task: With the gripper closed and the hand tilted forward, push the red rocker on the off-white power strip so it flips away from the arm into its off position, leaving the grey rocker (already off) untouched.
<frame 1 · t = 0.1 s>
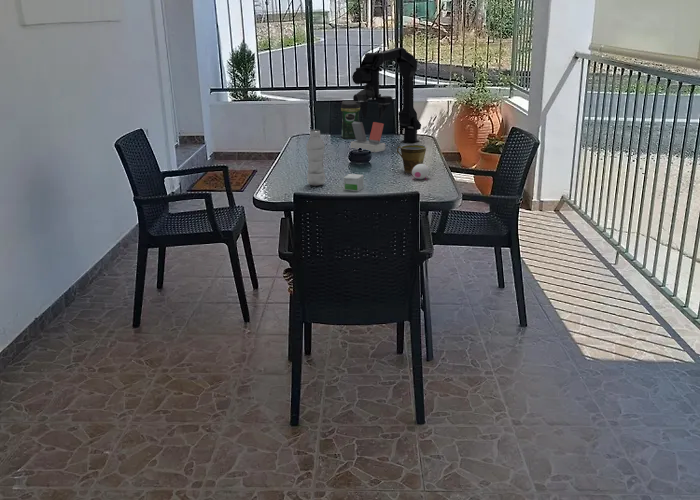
hand: (372, 118, 290), 15 cm above the table, fingers open, 9 cm apart
small box: (353, 189, 232), on the table
plastic bottle: (316, 185, 237), on the table
coffee jar: (351, 138, 327), on the table
ceramic cup: (409, 171, 256), on the table
red rocker: (376, 133, 294), point 8 cm above the table, hinge at -20.0°
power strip: (367, 149, 298), on the table
stress ball: (419, 179, 245), on the table
grey rocker: (359, 131, 297), point 8 cm above the table, hinge at 20.0°
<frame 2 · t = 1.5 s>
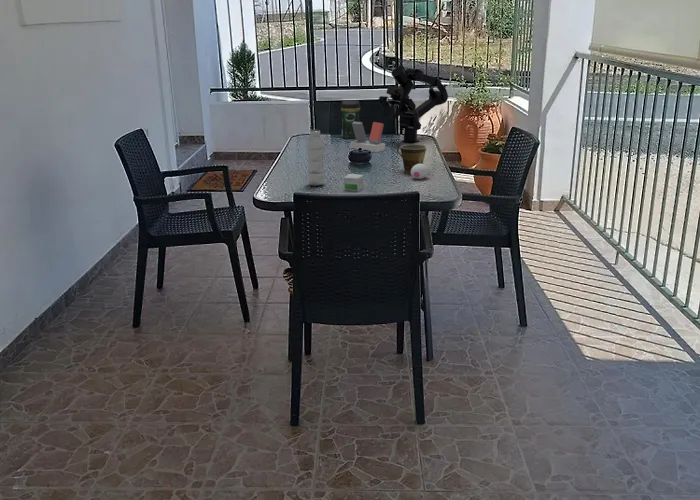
hand: (388, 117, 298), 14 cm above the table, fingers open, 6 cm apart
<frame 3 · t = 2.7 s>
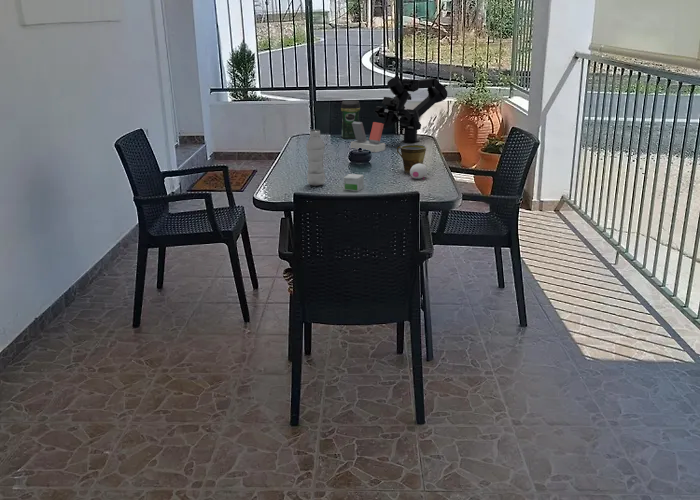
hand: (384, 128, 297), 9 cm above the table, fingers closed
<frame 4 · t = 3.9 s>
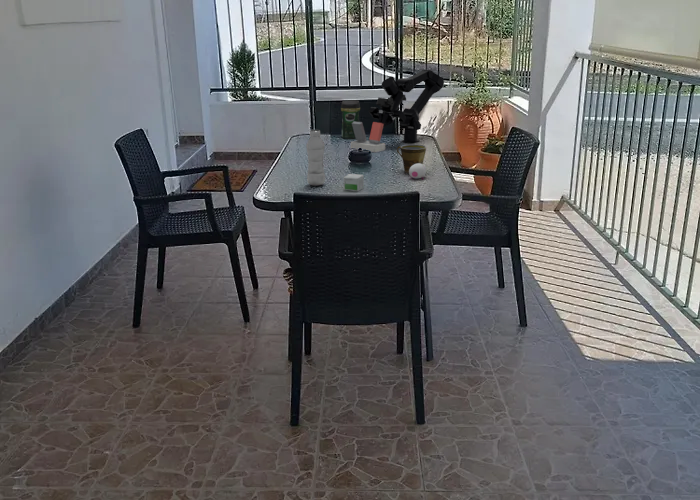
hand: (378, 129, 295), 9 cm above the table, fingers closed, pressing on red rocker
red rocker: (376, 133, 294), point 8 cm above the table, hinge at -19.3°, touching gripper
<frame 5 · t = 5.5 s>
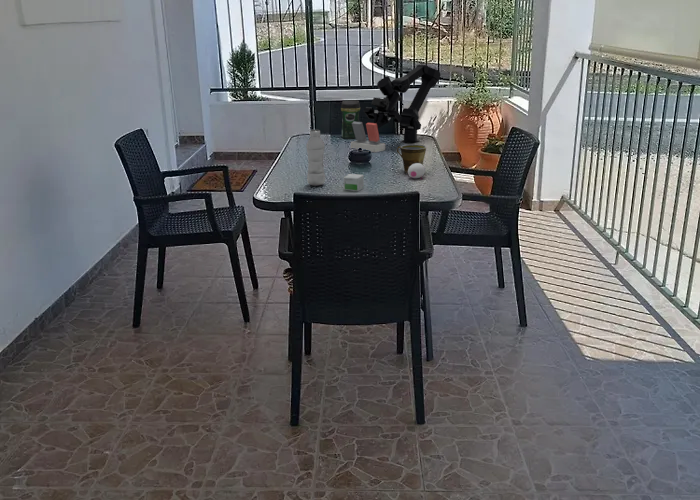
hand: (373, 129, 292), 10 cm above the table, fingers closed, pressing on red rocker
red rocker: (373, 133, 292), point 8 cm above the table, hinge at 14.8°, touching gripper
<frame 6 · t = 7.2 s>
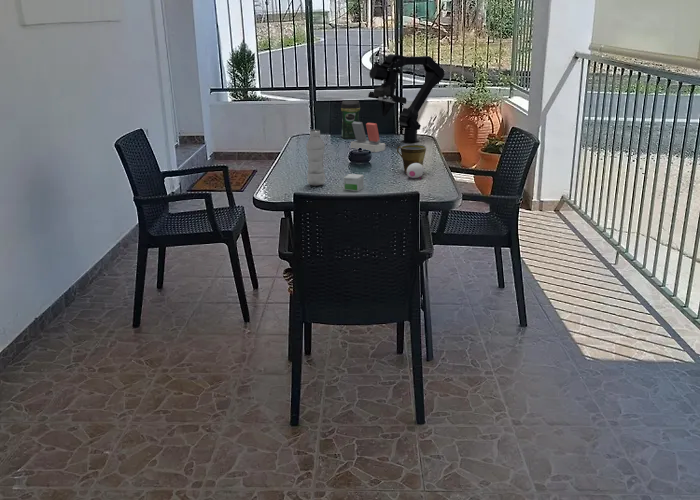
hand: (383, 116, 302), 14 cm above the table, fingers closed
red rocker: (373, 133, 292), point 8 cm above the table, hinge at 15.1°
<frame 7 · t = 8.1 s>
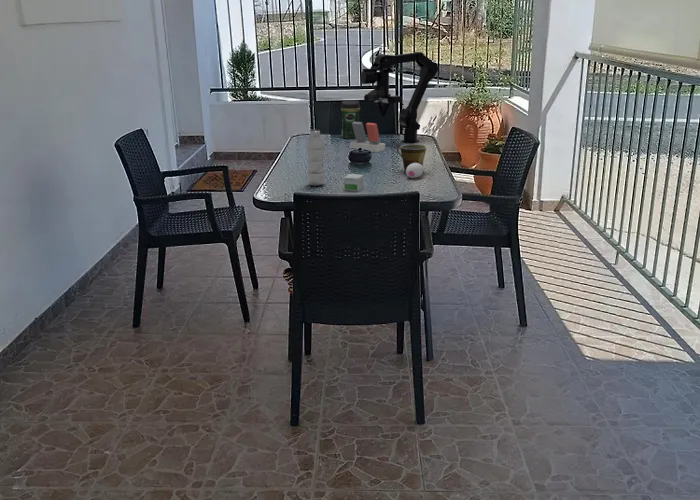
hand: (382, 117, 304), 13 cm above the table, fingers closed
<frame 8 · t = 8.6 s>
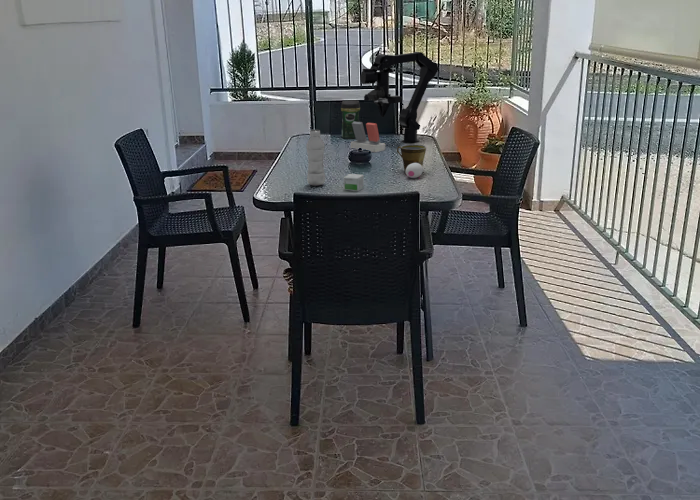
hand: (382, 117, 304), 13 cm above the table, fingers closed
at the end: red rocker at +15° (first picture: -20°); grey rocker at +20° (first picture: +20°); red rocker touching nothing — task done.
